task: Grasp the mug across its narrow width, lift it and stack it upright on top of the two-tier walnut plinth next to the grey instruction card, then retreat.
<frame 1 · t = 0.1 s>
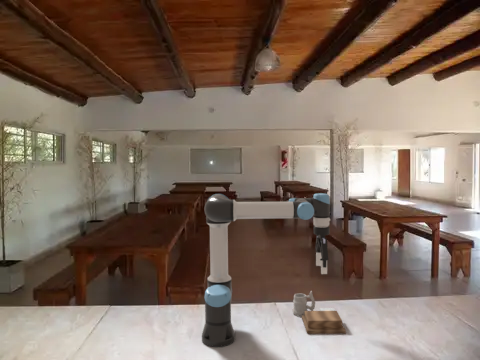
hand: (321, 269, 200), 28 cm above the countertop, fingers open, 13 cm apart
plinth: (322, 325, 203), on the countertop
mug: (303, 314, 218), on the countertop
instruction card: (328, 312, 219), on the countertop
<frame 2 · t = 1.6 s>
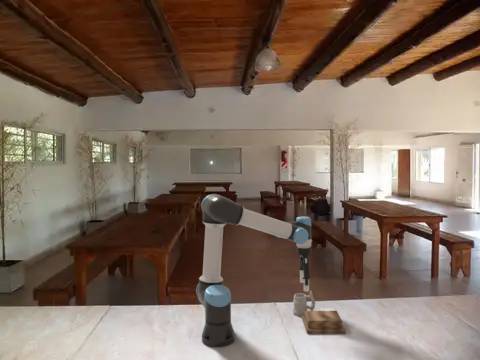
hand: (304, 286, 217), 14 cm above the countertop, fingers open, 13 cm apart
nothing on the countertop moved.
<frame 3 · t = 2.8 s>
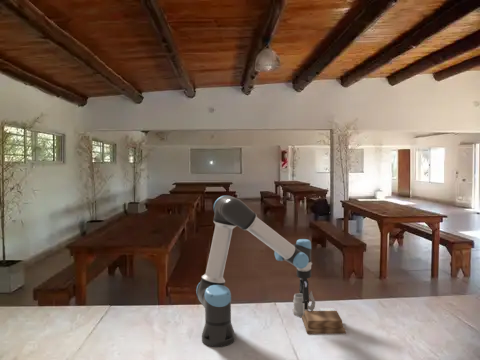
hand: (304, 310, 217), 2 cm above the countertop, fingers open, 11 cm apart
nothing on the countertop moved.
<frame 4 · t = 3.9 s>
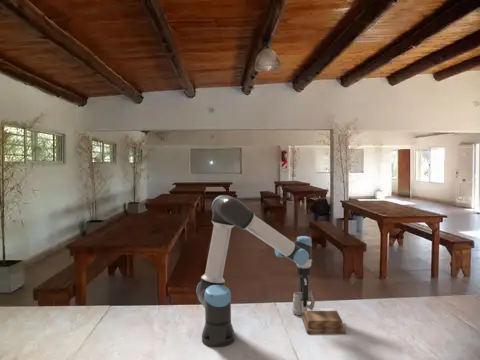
hand: (303, 309, 217), 2 cm above the countertop, fingers closed on mug, 7 cm apart
mug: (303, 312, 218), on the countertop, touching gripper
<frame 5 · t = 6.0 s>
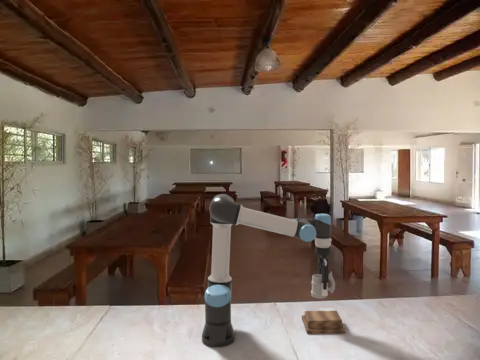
hand: (322, 292, 201), 16 cm above the countertop, fingers closed on mug, 7 cm apart
mug: (323, 296, 202), point 15 cm above the countertop, touching gripper
when the fingers open (7 cm above the countertop, at t = 8.0 s): mug stays where it is, resting on plinth.
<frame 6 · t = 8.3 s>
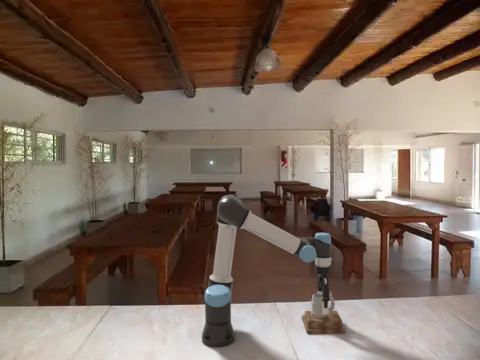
hand: (322, 308, 202), 8 cm above the countertop, fingers open, 12 cm apart
mug: (322, 315, 203), point 5 cm above the countertop, touching plinth
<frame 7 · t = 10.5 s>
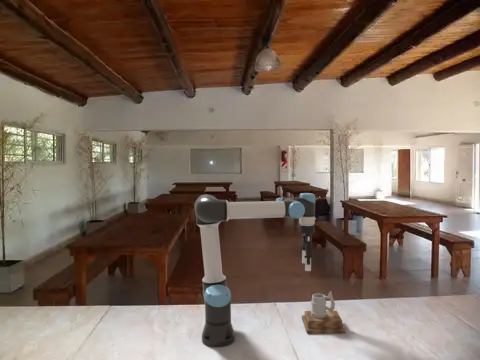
hand: (306, 266, 207), 27 cm above the countertop, fingers open, 13 cm apart
nothing on the countertop moved.
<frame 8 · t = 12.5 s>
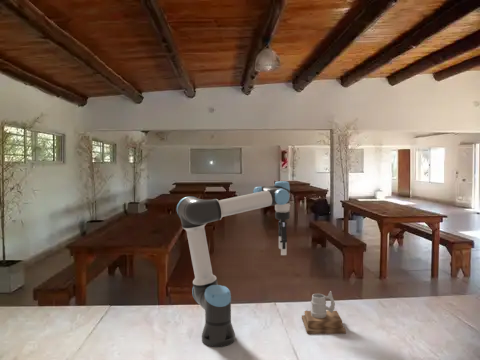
hand: (282, 251, 216), 33 cm above the countertop, fingers open, 13 cm apart
nothing on the countertop moved.
at the end: mug inside the target area on the plinth (0.2 cm from its centre), point 4.8 cm above the plinth's base; mug tilted 0°; the gripper is holding nothing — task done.
